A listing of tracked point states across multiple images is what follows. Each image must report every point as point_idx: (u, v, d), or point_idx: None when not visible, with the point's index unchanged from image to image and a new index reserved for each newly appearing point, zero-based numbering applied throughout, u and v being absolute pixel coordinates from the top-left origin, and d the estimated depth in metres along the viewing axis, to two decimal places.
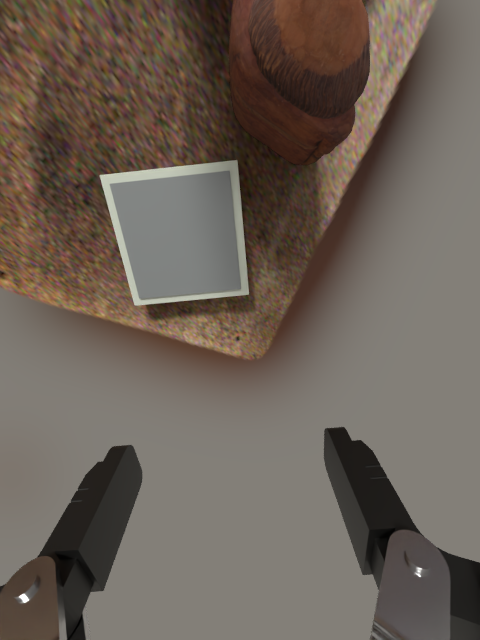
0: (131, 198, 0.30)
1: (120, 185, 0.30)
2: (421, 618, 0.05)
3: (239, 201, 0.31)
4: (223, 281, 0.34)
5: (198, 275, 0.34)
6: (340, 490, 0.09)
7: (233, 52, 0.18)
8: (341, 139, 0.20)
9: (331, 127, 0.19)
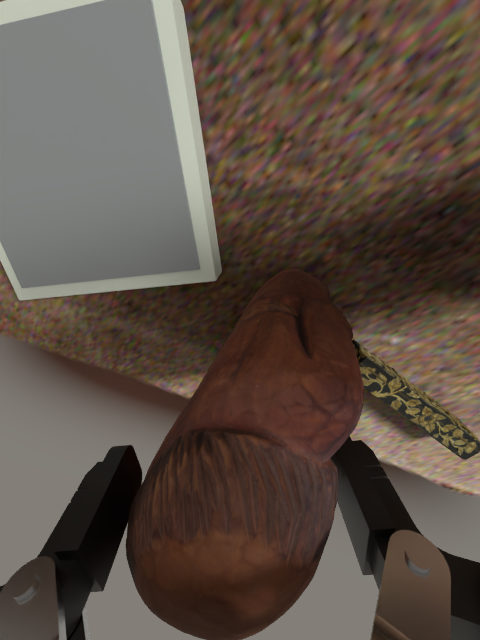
0: (127, 53, 0.14)
1: (149, 24, 0.13)
2: (422, 618, 0.05)
3: (159, 284, 0.19)
4: (23, 256, 0.19)
5: (17, 207, 0.17)
6: (340, 490, 0.09)
7: (249, 358, 0.09)
8: None
9: None
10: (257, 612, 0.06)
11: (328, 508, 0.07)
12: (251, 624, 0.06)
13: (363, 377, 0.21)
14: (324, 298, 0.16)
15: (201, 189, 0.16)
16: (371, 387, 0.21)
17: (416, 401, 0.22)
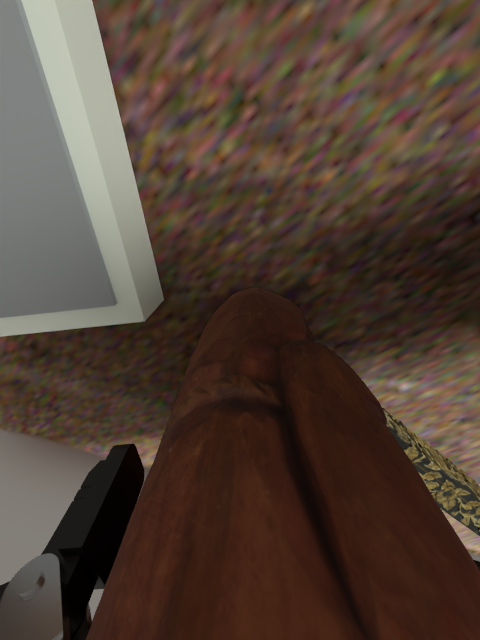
0: None
1: None
2: None
3: (54, 327, 0.12)
4: None
5: None
6: None
7: None
8: None
9: None
10: None
11: None
12: None
13: None
14: (303, 329, 0.11)
15: (103, 175, 0.10)
16: None
17: (435, 473, 0.16)
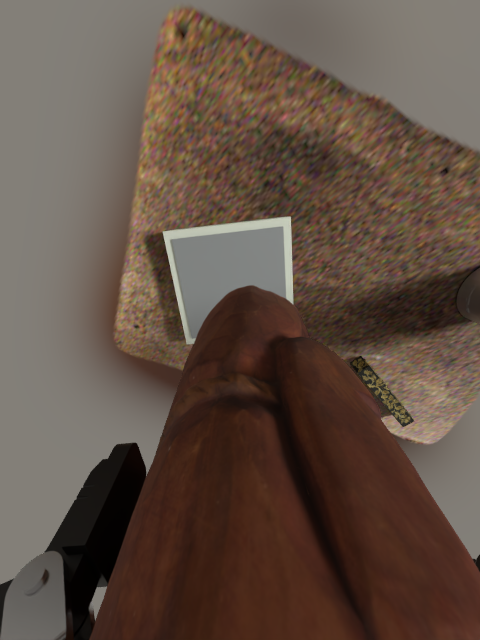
0: (270, 245, 0.32)
1: (281, 236, 0.32)
2: None
3: None
4: (197, 323, 0.36)
5: (201, 302, 0.35)
6: None
7: None
8: None
9: None
10: None
11: None
12: None
13: (365, 375, 0.41)
14: (298, 326, 0.11)
15: (292, 294, 0.35)
16: (367, 381, 0.41)
17: (387, 391, 0.42)
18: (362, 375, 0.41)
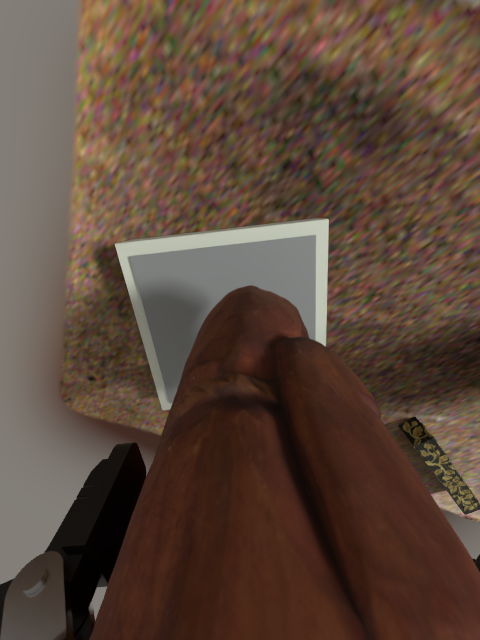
0: (292, 266, 0.20)
1: (311, 252, 0.19)
2: None
3: None
4: (177, 382, 0.24)
5: (182, 352, 0.22)
6: None
7: None
8: None
9: None
10: None
11: None
12: None
13: (424, 450, 0.28)
14: (298, 326, 0.11)
15: (325, 340, 0.23)
16: (426, 458, 0.28)
17: (452, 471, 0.29)
18: (420, 449, 0.28)
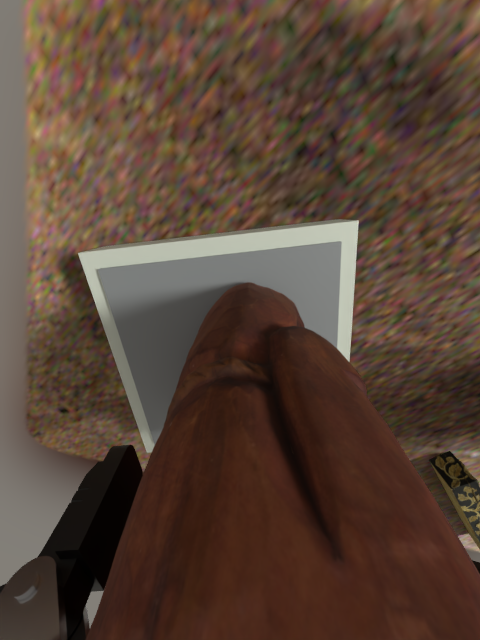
0: (310, 282, 0.15)
1: (335, 264, 0.15)
2: None
3: None
4: (164, 422, 0.19)
5: (169, 386, 0.18)
6: None
7: (173, 604, 0.03)
8: None
9: None
10: None
11: None
12: None
13: (463, 494, 0.23)
14: (293, 318, 0.11)
15: None
16: (463, 503, 0.24)
17: None
18: (458, 492, 0.23)
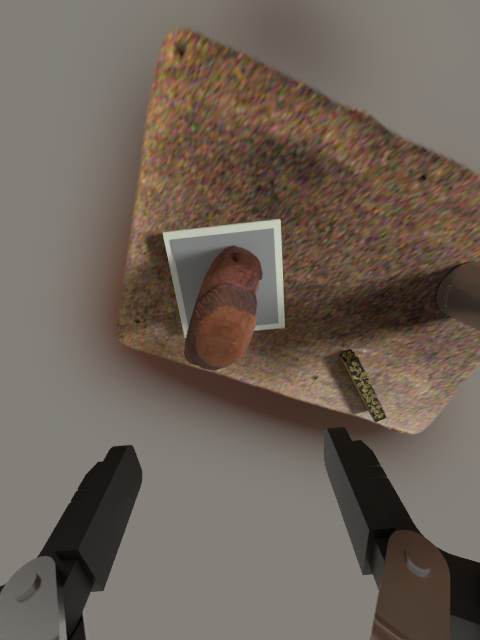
0: (261, 246, 0.35)
1: (272, 237, 0.35)
2: (421, 618, 0.05)
3: (257, 329, 0.40)
4: None
5: None
6: (340, 490, 0.09)
7: (216, 268, 0.23)
8: None
9: (187, 352, 0.25)
10: (237, 329, 0.20)
11: (252, 300, 0.21)
12: (236, 335, 0.21)
13: (352, 367, 0.44)
14: None
15: None
16: (353, 373, 0.44)
17: (368, 385, 0.45)
18: (349, 365, 0.43)
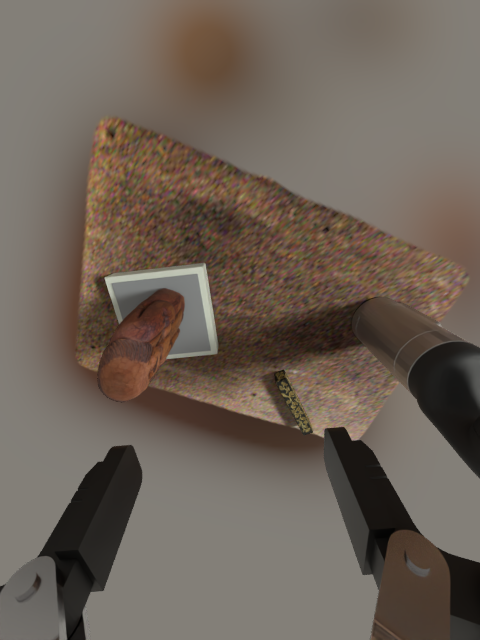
0: (188, 288, 0.41)
1: (196, 281, 0.41)
2: (421, 618, 0.05)
3: (193, 355, 0.47)
4: None
5: None
6: (340, 490, 0.09)
7: (122, 323, 0.29)
8: None
9: None
10: (129, 374, 0.27)
11: (144, 351, 0.28)
12: (129, 379, 0.27)
13: (281, 386, 0.50)
14: (170, 299, 0.38)
15: (212, 323, 0.44)
16: (282, 391, 0.50)
17: (296, 403, 0.51)
18: (279, 385, 0.50)
